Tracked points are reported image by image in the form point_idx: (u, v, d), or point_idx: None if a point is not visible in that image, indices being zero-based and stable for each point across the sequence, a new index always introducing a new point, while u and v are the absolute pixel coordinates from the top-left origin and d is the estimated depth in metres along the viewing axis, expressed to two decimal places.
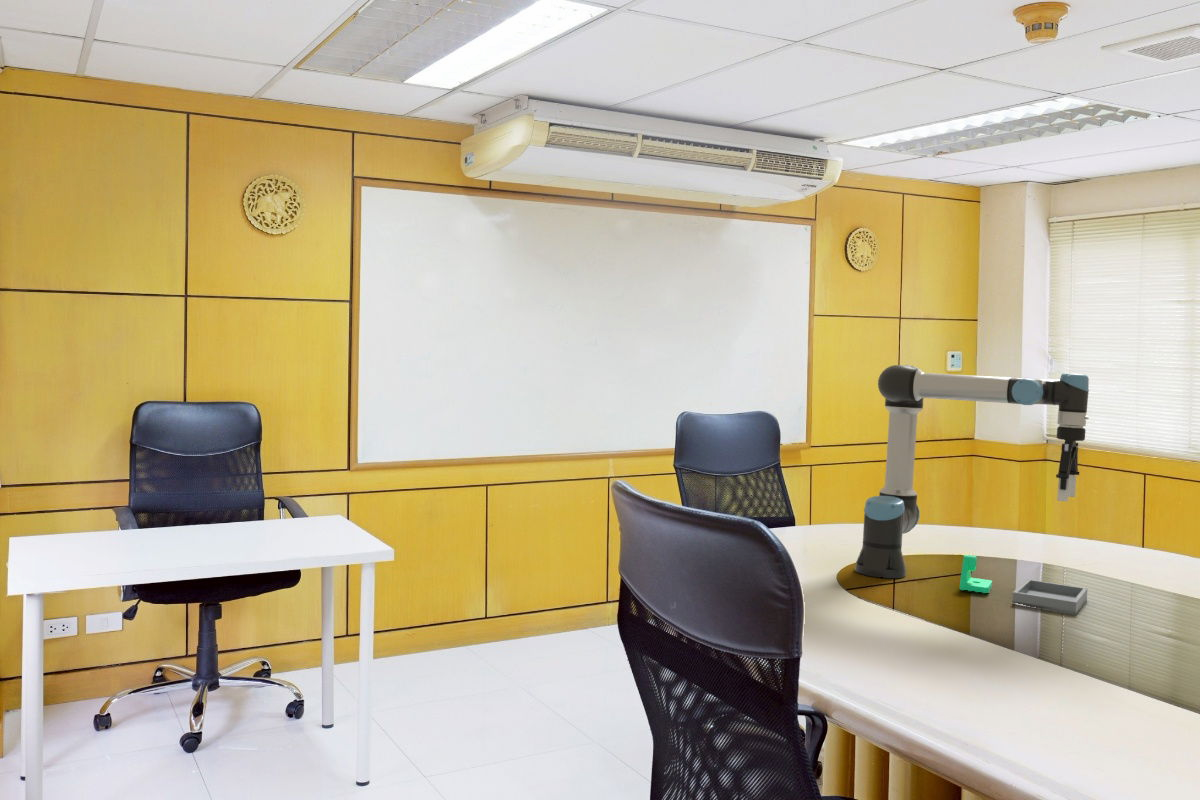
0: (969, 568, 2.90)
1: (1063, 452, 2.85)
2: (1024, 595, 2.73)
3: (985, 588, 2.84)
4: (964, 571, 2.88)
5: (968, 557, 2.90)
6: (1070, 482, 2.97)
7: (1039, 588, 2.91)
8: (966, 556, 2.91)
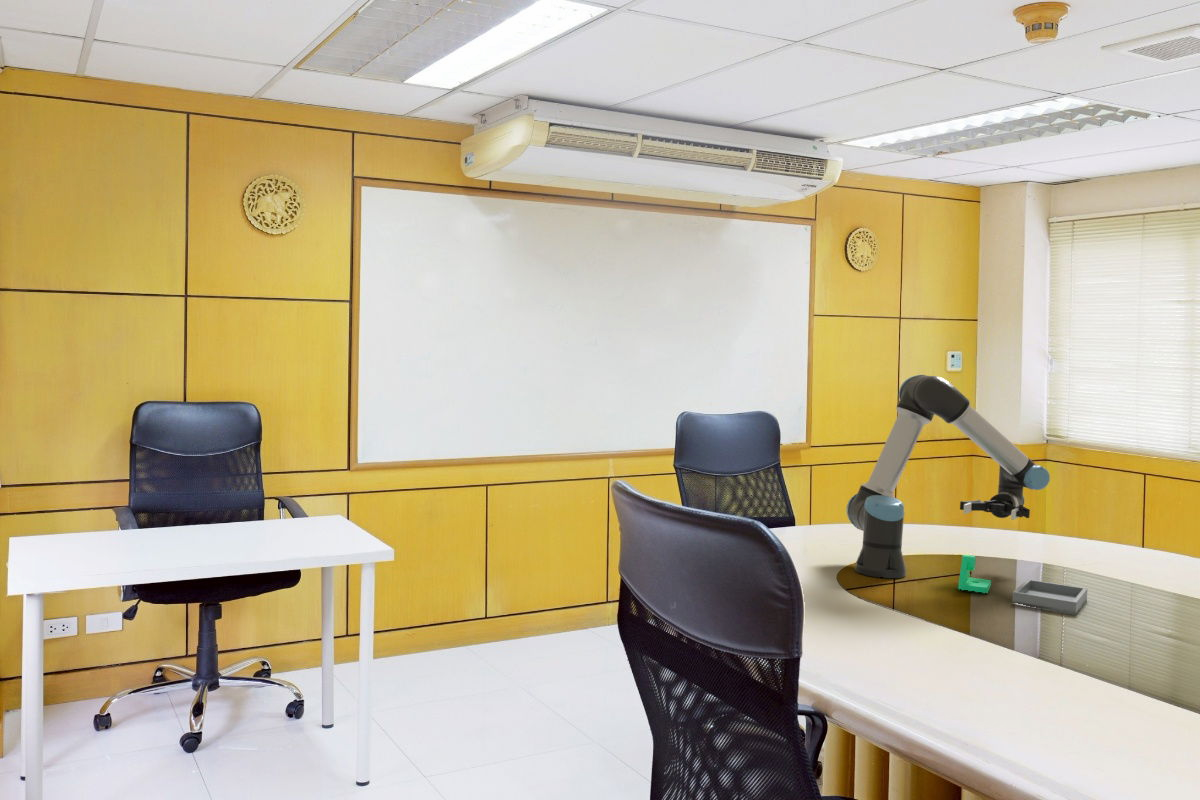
0: (968, 568, 2.90)
1: None
2: (1024, 595, 2.73)
3: (984, 588, 2.84)
4: (963, 571, 2.89)
5: (967, 557, 2.91)
6: (969, 507, 3.05)
7: (1039, 588, 2.91)
8: (965, 556, 2.91)
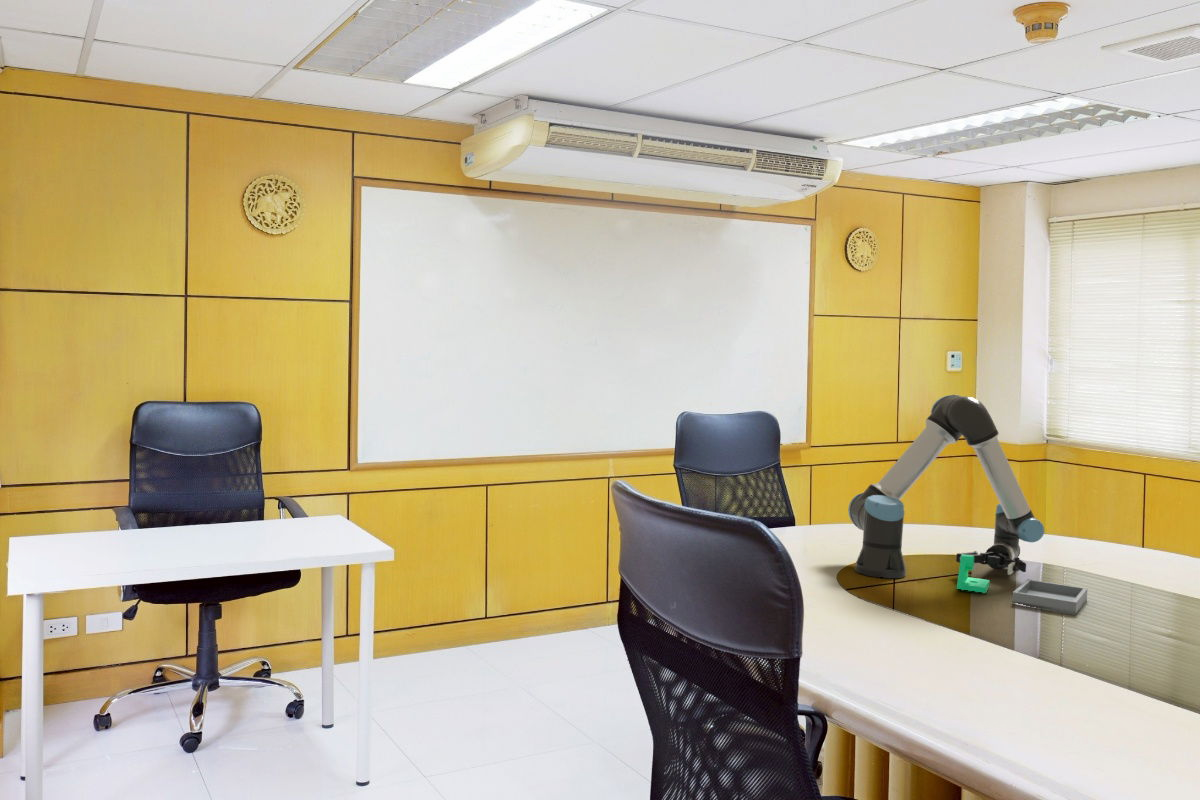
0: (966, 568, 2.90)
1: None
2: (1024, 595, 2.73)
3: (982, 588, 2.84)
4: (961, 571, 2.89)
5: (966, 556, 2.91)
6: None
7: (1039, 588, 2.91)
8: (963, 556, 2.91)
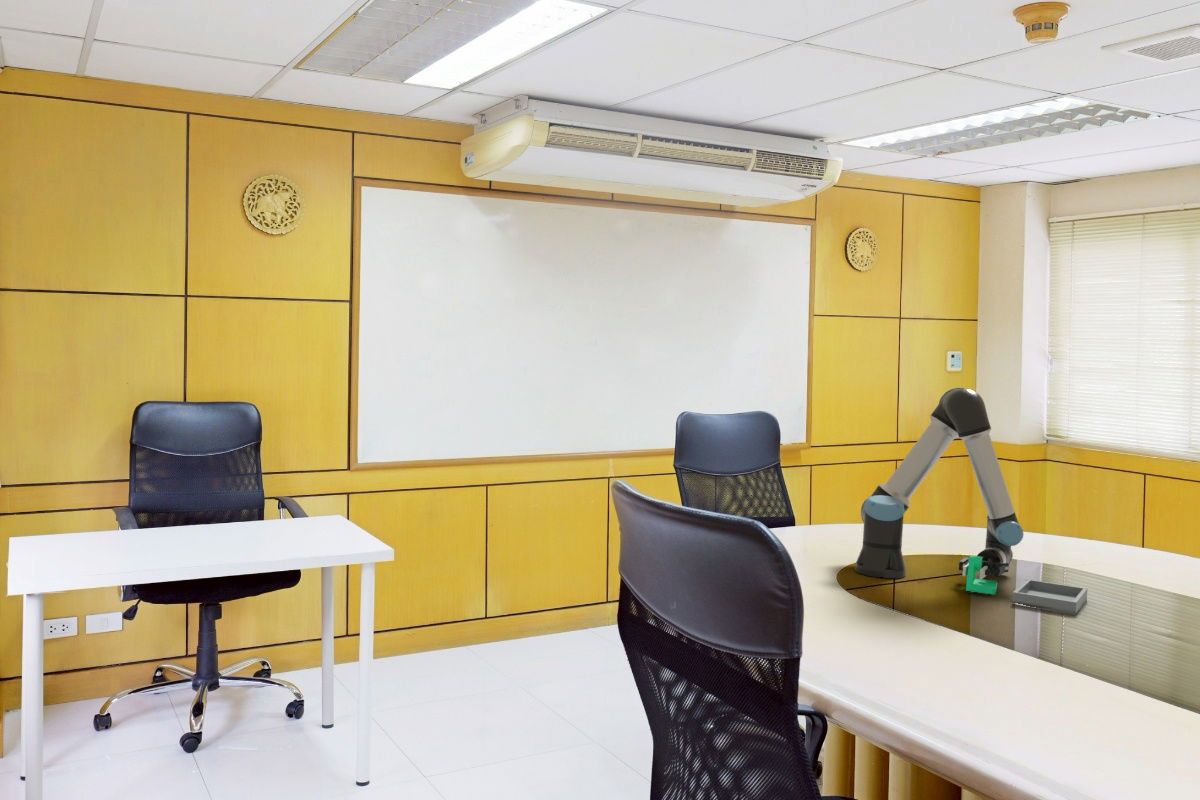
0: (975, 569, 2.88)
1: (1004, 566, 2.95)
2: (1024, 595, 2.73)
3: (992, 589, 2.82)
4: (970, 572, 2.86)
5: (974, 557, 2.88)
6: None
7: (1039, 588, 2.91)
8: (972, 557, 2.89)
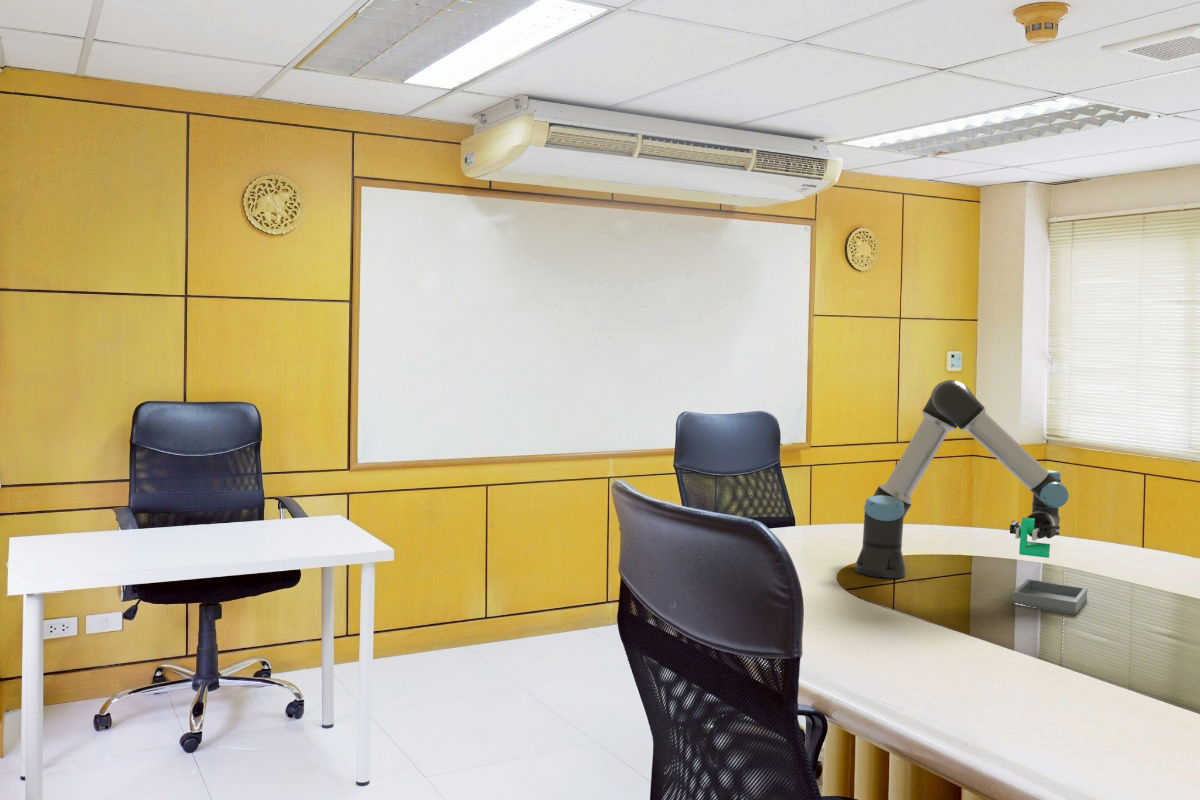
0: (1028, 531, 2.81)
1: (1055, 528, 2.88)
2: (1024, 595, 2.73)
3: (1046, 551, 2.75)
4: (1023, 534, 2.79)
5: (1027, 519, 2.81)
6: None
7: (1039, 588, 2.91)
8: (1024, 519, 2.82)
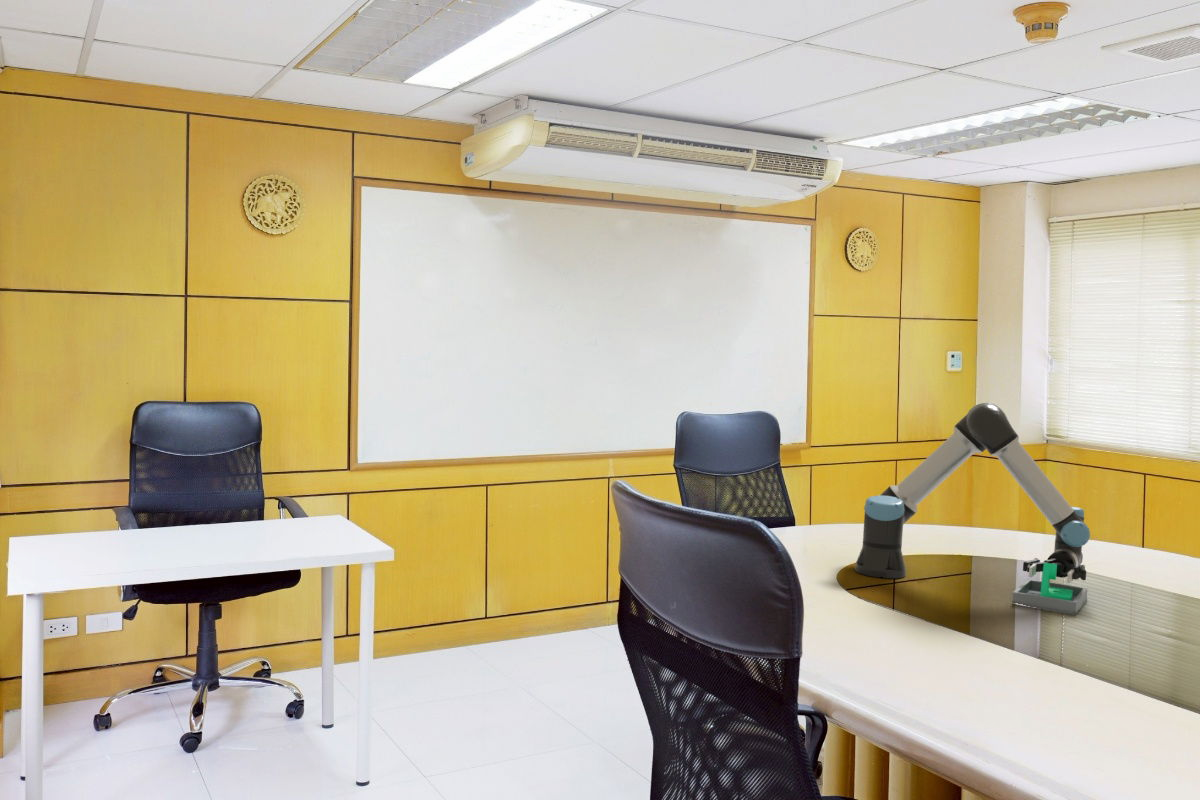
0: (1049, 577, 2.77)
1: None
2: (1024, 595, 2.73)
3: (1068, 598, 2.71)
4: (1045, 580, 2.75)
5: (1049, 565, 2.77)
6: (1034, 570, 2.82)
7: (1039, 588, 2.91)
8: (1046, 564, 2.78)
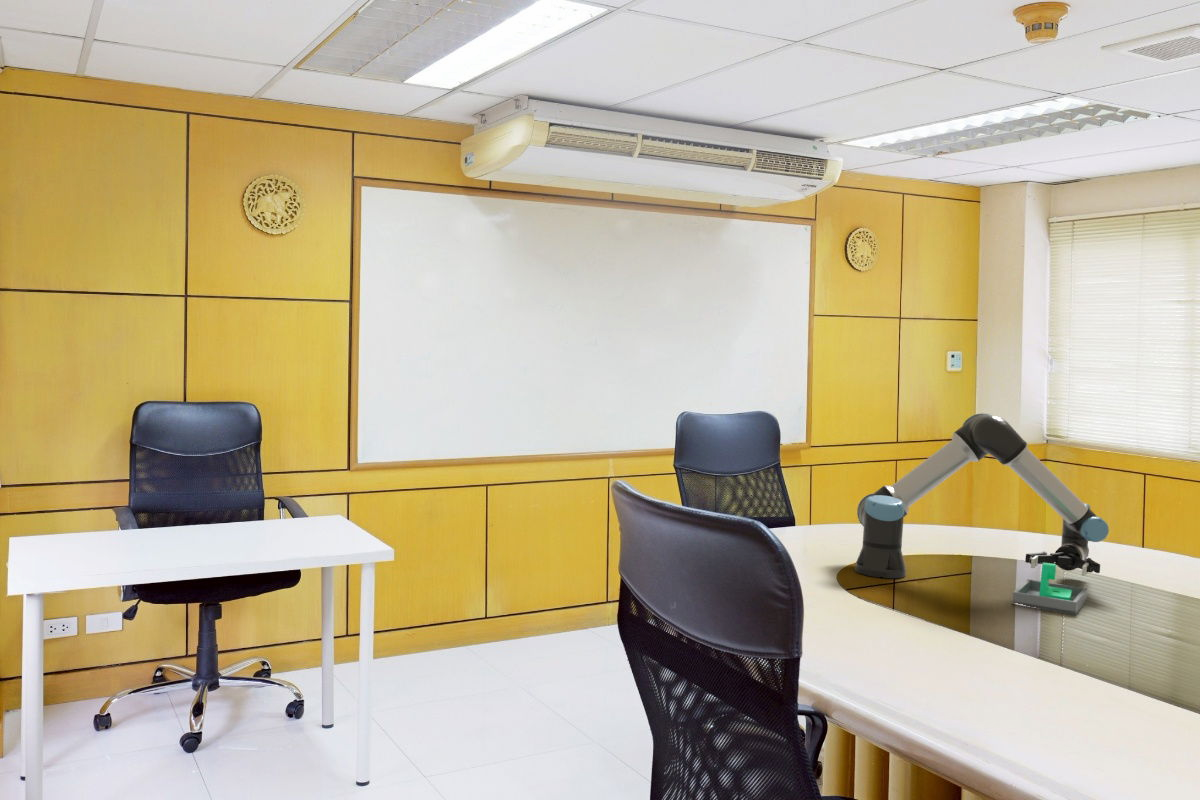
0: (1048, 577, 2.77)
1: None
2: (1024, 595, 2.73)
3: (1067, 598, 2.71)
4: (1044, 580, 2.76)
5: (1048, 565, 2.77)
6: (1036, 561, 2.95)
7: (1039, 588, 2.91)
8: (1045, 564, 2.78)
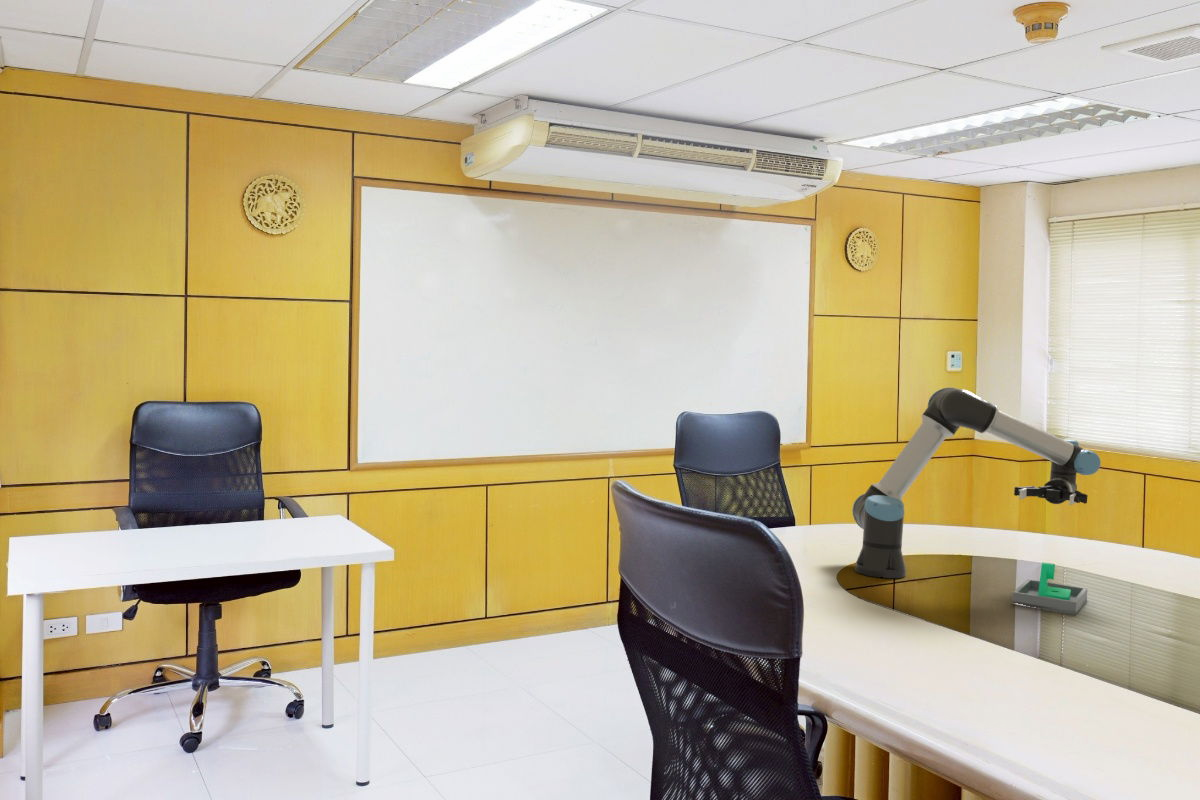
0: (1047, 577, 2.77)
1: None
2: (1024, 595, 2.73)
3: (1066, 598, 2.71)
4: (1042, 580, 2.76)
5: (1047, 565, 2.78)
6: (1024, 493, 2.99)
7: None
8: (1044, 564, 2.78)
